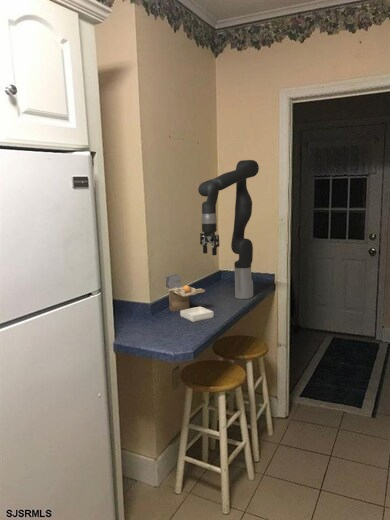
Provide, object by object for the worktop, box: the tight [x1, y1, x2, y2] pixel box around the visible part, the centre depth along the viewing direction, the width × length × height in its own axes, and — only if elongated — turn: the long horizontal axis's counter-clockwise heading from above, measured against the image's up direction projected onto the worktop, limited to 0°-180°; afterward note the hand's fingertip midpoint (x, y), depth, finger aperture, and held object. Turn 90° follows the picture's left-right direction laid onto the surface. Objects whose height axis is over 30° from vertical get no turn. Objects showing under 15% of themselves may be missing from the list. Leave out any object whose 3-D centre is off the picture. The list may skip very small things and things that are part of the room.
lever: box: [164, 273, 206, 297], centre depth 221 cm, size 20×13×7 cm, turn 32°
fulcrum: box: [168, 290, 191, 313], centre depth 222 cm, size 4×10×10 cm, turn 122°
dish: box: [179, 306, 214, 323], centre depth 208 cm, size 12×12×3 cm
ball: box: [182, 284, 191, 292], centre depth 214 cm, size 4×4×4 cm
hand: (209, 254), depth 219 cm, fingers open, 8 cm apart
